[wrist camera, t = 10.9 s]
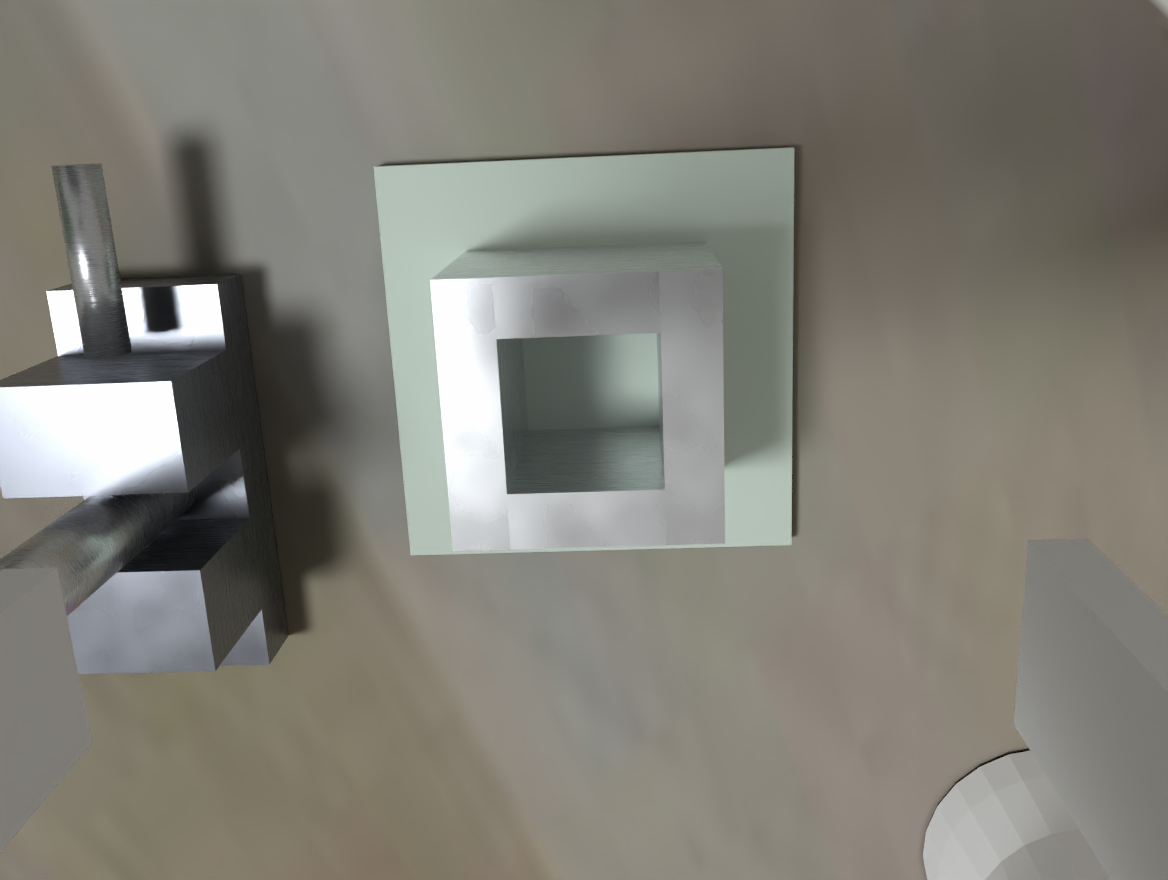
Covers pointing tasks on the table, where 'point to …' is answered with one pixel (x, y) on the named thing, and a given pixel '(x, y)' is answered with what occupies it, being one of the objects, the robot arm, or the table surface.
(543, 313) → the grey hollow block
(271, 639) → the vise
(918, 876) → the table surface
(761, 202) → the mat
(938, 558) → the table surface
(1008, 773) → the cup
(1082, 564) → the robot arm
